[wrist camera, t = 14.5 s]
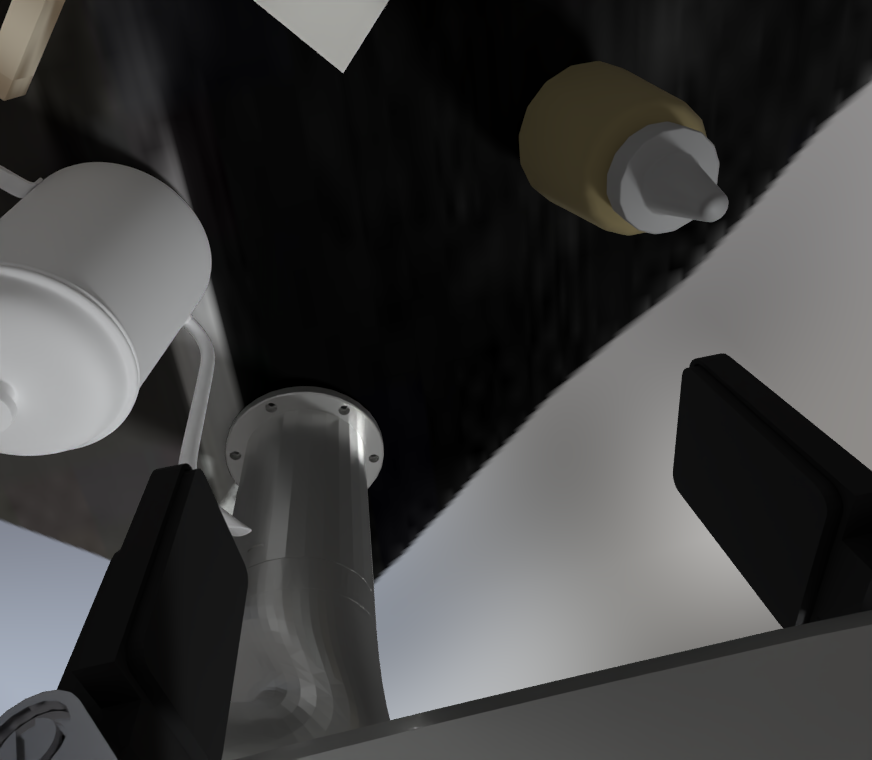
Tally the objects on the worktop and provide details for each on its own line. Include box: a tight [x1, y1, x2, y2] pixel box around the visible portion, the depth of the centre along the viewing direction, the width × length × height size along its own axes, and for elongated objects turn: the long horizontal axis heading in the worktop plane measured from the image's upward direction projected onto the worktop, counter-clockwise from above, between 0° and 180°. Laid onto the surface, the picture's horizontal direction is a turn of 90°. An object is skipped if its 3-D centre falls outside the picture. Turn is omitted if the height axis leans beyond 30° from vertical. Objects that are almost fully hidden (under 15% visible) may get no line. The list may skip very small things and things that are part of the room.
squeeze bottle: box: [519, 61, 728, 235], centre depth 30 cm, size 8×8×18 cm
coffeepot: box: [0, 162, 252, 536], centre depth 30 cm, size 11×25×19 cm, turn 38°
